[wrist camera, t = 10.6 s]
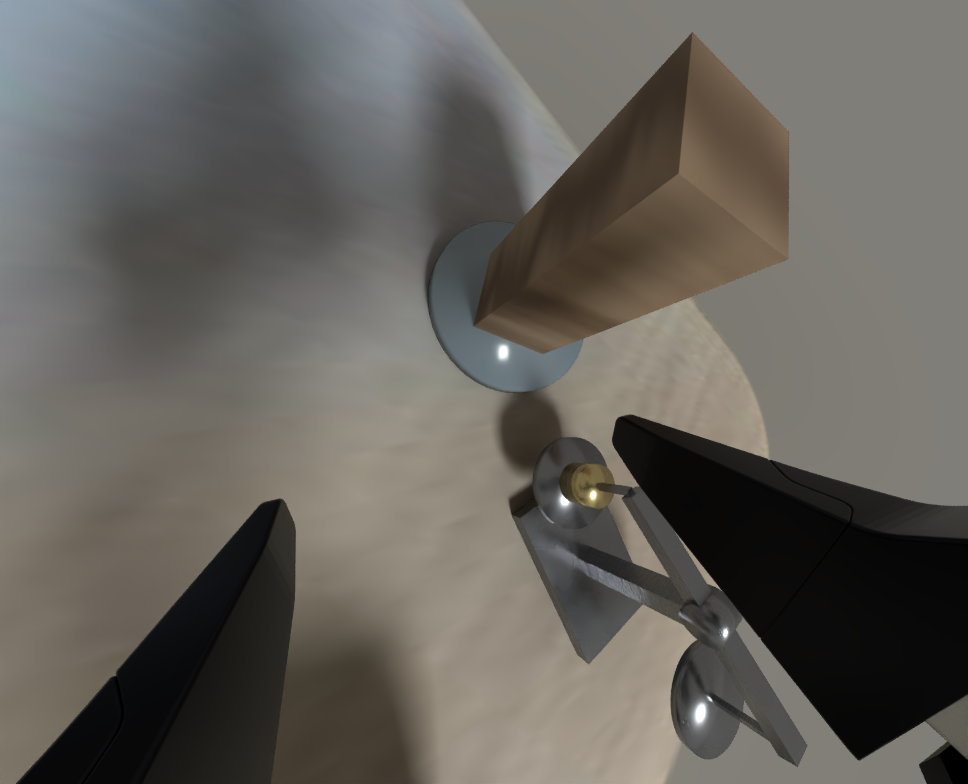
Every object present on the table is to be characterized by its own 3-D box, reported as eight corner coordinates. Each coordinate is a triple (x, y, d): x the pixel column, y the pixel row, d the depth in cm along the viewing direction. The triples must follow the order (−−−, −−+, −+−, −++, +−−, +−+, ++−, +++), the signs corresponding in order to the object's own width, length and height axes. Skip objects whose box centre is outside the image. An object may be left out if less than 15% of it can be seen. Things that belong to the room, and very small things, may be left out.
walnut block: (542, 354, 22) (788, 259, 11) (473, 326, 20) (678, 173, 9) (555, 285, 23) (788, 132, 12) (490, 253, 21) (692, 32, 10)
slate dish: (597, 356, 26) (607, 352, 25) (476, 422, 21) (484, 421, 20) (536, 216, 25) (544, 207, 24) (396, 251, 20) (399, 242, 19)
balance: (654, 632, 25) (849, 745, 16) (599, 700, 22) (795, 883, 13) (559, 421, 23) (710, 409, 14) (488, 465, 21) (618, 485, 12)
